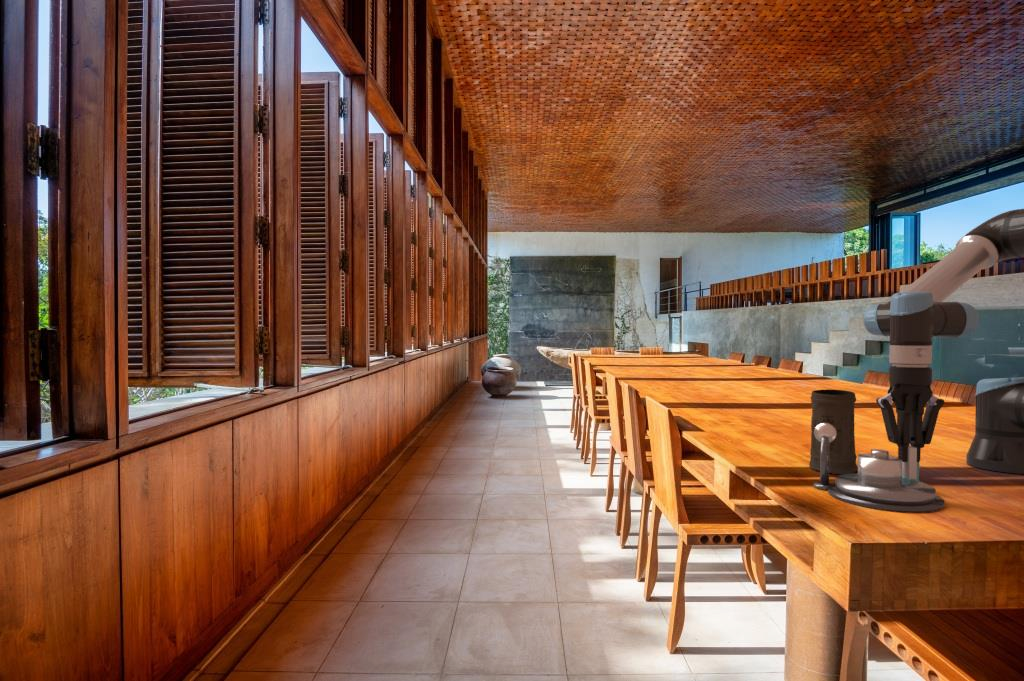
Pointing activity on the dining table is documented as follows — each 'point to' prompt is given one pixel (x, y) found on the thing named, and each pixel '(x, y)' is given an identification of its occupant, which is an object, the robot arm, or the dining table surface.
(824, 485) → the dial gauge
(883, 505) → the base plate
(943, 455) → the dining table surface
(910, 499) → the turntable
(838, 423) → the beer stein
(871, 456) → the cover
